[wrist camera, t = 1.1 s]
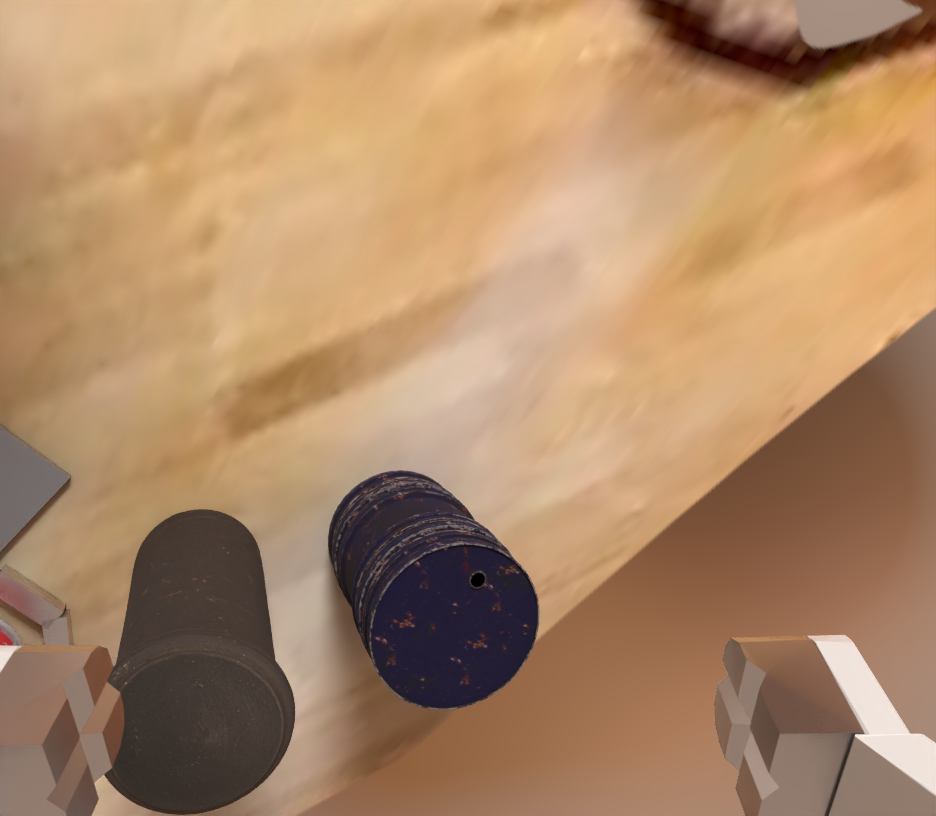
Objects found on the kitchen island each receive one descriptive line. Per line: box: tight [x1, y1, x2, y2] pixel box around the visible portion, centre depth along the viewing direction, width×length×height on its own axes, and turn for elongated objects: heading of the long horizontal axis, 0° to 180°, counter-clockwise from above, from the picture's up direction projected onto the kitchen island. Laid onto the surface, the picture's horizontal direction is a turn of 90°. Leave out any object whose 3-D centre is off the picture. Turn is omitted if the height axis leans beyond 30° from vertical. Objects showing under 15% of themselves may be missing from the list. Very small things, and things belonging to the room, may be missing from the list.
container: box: [104, 510, 295, 815], centre depth 45 cm, size 9×9×20 cm
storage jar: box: [328, 471, 539, 710], centre depth 51 cm, size 10×10×15 cm
